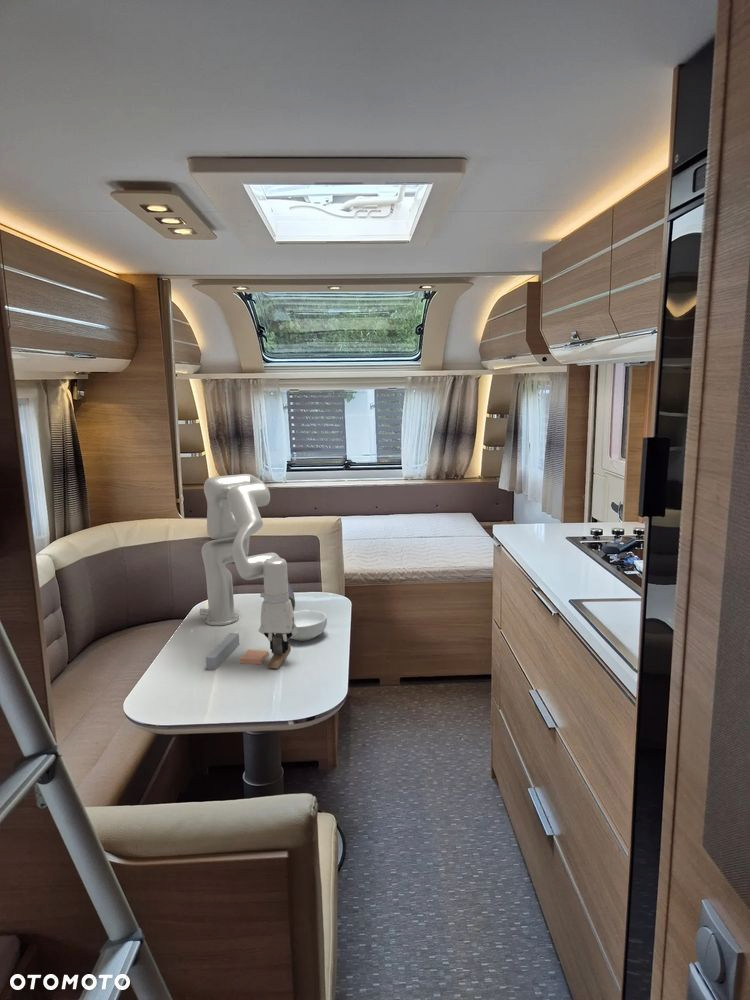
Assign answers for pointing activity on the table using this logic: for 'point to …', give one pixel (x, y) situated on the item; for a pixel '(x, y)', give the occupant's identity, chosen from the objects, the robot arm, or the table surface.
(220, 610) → the robot arm
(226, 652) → the stop rail
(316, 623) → the cereal bowl
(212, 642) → the table surface
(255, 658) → the tile
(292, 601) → the bluetooth speaker
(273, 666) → the scraper
